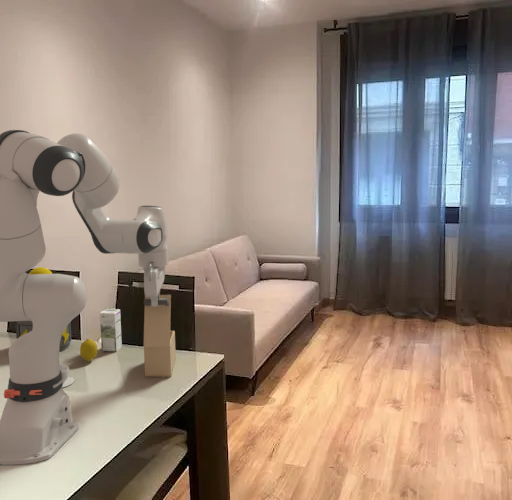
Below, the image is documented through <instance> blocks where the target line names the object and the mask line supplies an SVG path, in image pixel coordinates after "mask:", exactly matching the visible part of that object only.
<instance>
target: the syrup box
mask: <svg viewBox="0 0 512 500" xmlns="http://www.w3.org/2000/svg"><path fill="white" fill-rule="evenodd" d="M121 316H122V315H121V309H119V308H117V309H115V308H113V309H112V308H105V309H103V310H101V312H99V325H100V343H101V352H110V353H113V352H118V351H120V350H121V349H122V347H123V343H122V340H123V339H122V325H121V323H122V322H121V320H122V319H121Z"/></svg>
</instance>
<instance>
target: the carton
mask: <svg viewBox="0 0 512 500" xmlns="http://www.w3.org/2000/svg"><path fill="white" fill-rule="evenodd" d="M143 355H144V359H143V361H144V363H143V364H144V379H152V378H154V379H155V378H172V375H173V372H174V371H173V370H174V367H175V363H176V332H175V330H170V346H154V347H144V346H143Z"/></svg>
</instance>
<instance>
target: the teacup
mask: <svg viewBox="0 0 512 500" xmlns="http://www.w3.org/2000/svg"><path fill="white" fill-rule="evenodd" d="M59 365H60V371H61V372H62V377H63V381H62V382H63V386H62V389H63V388H65V387H68V386H70V385H72V384H73V383H74V382H75V379H74V378H73V376H69V374H70V373H69V371H70V367H69V366H68V365H66V364H65V365H64V364H59Z"/></svg>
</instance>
